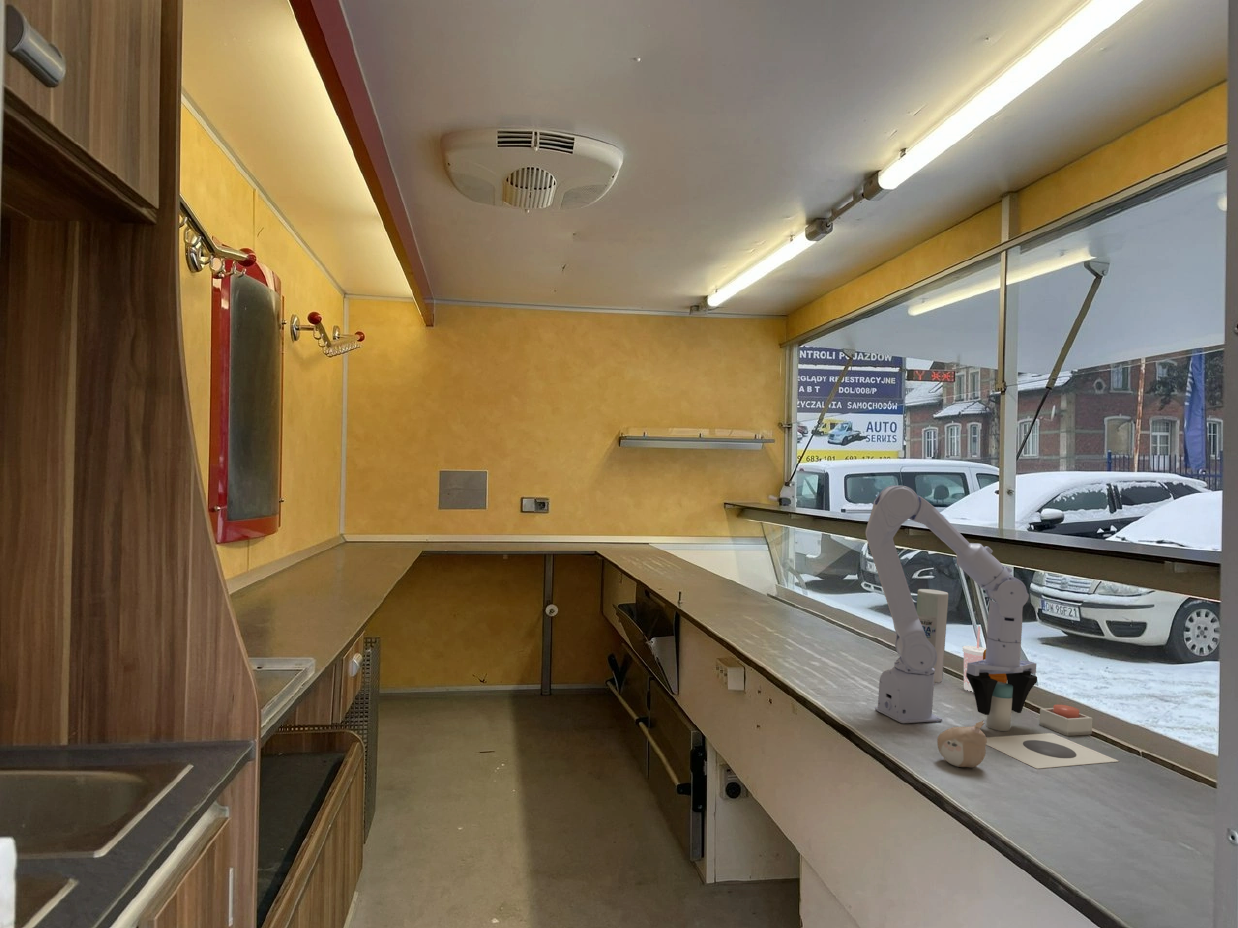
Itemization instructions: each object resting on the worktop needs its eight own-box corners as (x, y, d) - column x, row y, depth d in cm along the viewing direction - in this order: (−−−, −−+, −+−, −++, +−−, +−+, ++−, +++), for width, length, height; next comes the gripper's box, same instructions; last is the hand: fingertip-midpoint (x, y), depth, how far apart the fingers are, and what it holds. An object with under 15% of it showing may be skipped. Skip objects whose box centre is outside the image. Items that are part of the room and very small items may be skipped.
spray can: (905, 675, 172) (911, 589, 172) (926, 673, 175) (931, 588, 175) (928, 683, 166) (934, 594, 166) (949, 681, 169) (954, 593, 169)
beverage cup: (987, 696, 159) (991, 630, 159) (956, 689, 163) (960, 625, 163) (993, 690, 164) (997, 626, 164) (963, 684, 168) (967, 622, 168)
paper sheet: (1036, 768, 119) (1036, 767, 119) (974, 738, 131) (974, 737, 131) (1119, 761, 125) (1119, 760, 125) (1051, 733, 137) (1051, 732, 137)
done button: (1067, 723, 138) (1067, 712, 138) (1047, 715, 142) (1048, 704, 142) (1084, 721, 139) (1084, 711, 139) (1064, 714, 143) (1064, 703, 143)
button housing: (1067, 735, 136) (1068, 719, 136) (1039, 724, 142) (1040, 708, 142) (1091, 734, 138) (1092, 717, 138) (1063, 722, 144) (1064, 707, 144)
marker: (998, 731, 136) (1001, 687, 136) (981, 723, 140) (984, 681, 140) (1015, 730, 138) (1018, 687, 138) (997, 722, 141) (1000, 680, 141)
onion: (956, 774, 115) (960, 722, 115) (929, 758, 121) (932, 708, 121) (992, 772, 116) (995, 721, 116) (963, 756, 123) (966, 707, 123)
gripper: (990, 645, 133) (985, 721, 133) (1052, 643, 137) (1047, 717, 137) (960, 636, 140) (956, 708, 140) (1020, 634, 144) (1016, 705, 144)
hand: (999, 712), depth 139 cm, fingers open, 7 cm apart
